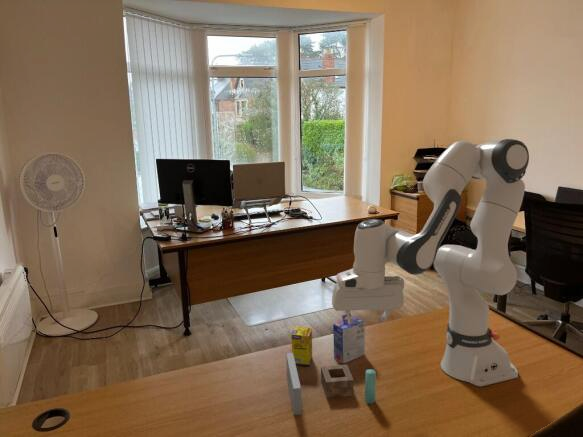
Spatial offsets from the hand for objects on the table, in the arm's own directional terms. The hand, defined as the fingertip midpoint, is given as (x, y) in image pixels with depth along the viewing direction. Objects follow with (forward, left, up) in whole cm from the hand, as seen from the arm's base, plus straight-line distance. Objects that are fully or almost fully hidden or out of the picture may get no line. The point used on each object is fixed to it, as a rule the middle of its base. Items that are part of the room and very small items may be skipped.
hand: (366, 322), depth 125 cm
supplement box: (+17, -16, -21) cm, 31 cm away
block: (+9, 0, -20) cm, 22 cm away
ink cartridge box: (+1, -17, -21) cm, 27 cm away
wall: (+22, +1, -20) cm, 30 cm away
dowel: (+1, +7, -20) cm, 22 cm away
